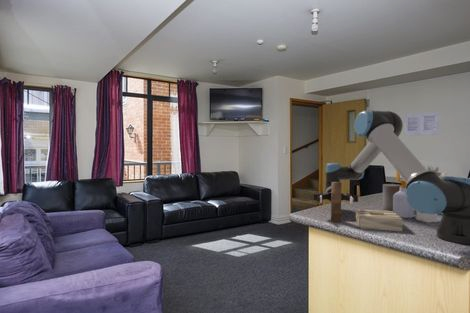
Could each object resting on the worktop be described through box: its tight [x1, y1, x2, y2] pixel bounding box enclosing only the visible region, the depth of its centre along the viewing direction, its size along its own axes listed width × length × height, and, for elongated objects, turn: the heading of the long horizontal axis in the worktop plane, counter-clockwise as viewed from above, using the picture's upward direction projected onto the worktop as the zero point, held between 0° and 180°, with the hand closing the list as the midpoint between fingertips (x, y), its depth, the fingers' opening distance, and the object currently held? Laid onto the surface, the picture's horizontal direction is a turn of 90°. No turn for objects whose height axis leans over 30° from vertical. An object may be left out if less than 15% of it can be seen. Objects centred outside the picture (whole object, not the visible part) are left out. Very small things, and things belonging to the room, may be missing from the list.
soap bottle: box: [393, 170, 415, 219], centre depth 152 cm, size 9×9×25 cm
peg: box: [330, 181, 342, 223], centre depth 142 cm, size 4×4×18 cm
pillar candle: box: [382, 182, 402, 211], centre depth 170 cm, size 10×10×15 cm
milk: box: [415, 211, 438, 223], centre depth 143 cm, size 6×6×22 cm
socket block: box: [355, 209, 404, 232], centre depth 135 cm, size 16×16×5 cm
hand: (336, 200), depth 139 cm, fingers open, 13 cm apart
